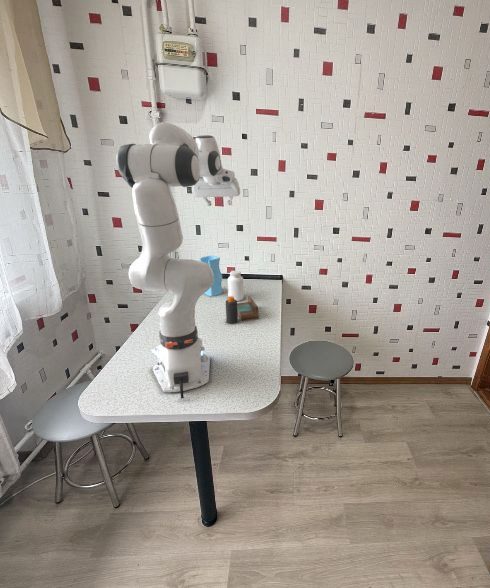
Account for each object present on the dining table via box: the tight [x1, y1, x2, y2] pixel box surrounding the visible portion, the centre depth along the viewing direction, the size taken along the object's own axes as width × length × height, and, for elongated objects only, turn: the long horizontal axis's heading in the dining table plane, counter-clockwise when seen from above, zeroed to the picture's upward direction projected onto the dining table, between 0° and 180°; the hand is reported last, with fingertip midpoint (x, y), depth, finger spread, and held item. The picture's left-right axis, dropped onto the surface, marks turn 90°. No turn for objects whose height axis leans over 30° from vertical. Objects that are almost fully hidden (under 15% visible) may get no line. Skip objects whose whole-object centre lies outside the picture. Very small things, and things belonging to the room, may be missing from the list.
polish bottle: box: [225, 296, 239, 325], centre depth 149 cm, size 5×5×12 cm
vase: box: [199, 254, 224, 297], centre depth 178 cm, size 8×8×20 cm
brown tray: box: [237, 295, 259, 322], centre depth 158 cm, size 14×8×6 cm, turn 26°
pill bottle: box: [227, 270, 245, 302], centre depth 173 cm, size 8×8×15 cm
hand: (220, 205), depth 151 cm, fingers open, 8 cm apart
